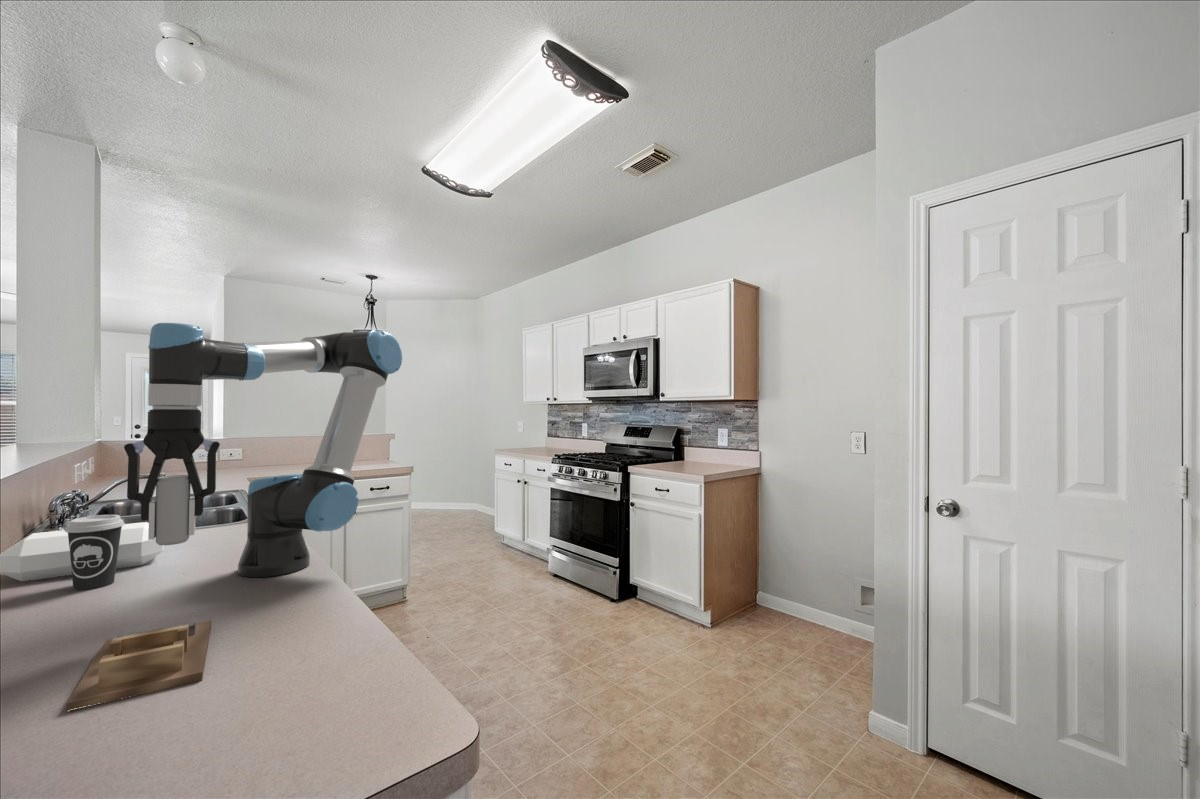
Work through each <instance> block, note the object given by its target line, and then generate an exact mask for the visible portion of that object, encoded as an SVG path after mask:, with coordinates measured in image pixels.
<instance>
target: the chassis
mask: <svg viewBox="0 0 1200 799" xmlns="http://www.w3.org/2000/svg"><path fill="white" fill-rule="evenodd" d="M211 630H212V620H207V621H201V622H195V621H194V622H188V623H184V624H179V625H173V626H168V627H162V628H156V629H151V630H146V631H145V630H144V631H140V632H134V633H130V634H124V635H117V636H116V637H114V638H110V639H105V641H104V642H103V644H102V646H101V647H100V649H99V650H98V652H97V654H96V655H95V657H94V658H93V660H92V661H91V663H90V665H89V667H88V669H87V670H86V672H85V673H84V675H83V676H82V678H81V680H80V681H79V683H78V685H77V686H76V688H75V690H74V691H73V693H72V695H71V696H70V698H68V701H67V702H66V703H67V704H66V711H67V710H70V709H74V708H79V707H83V706H88V705H94V704H98V703H104V702H108V703H111V702H110V701H112V702H115V701H114V700H117V701H119V700H118V699H121V698H125V697H129V696H134V695H138V696H142V695H145V694H150V693H154V691H155V692H158V691H163V690H167V689H171V688H176V687H180V686H184V685H188V684H192V683H193V684H194V683H196V682H201V681H203V678H204V671H205V667H206V666H205V665H206V661H207V660H206V659H207V654H208V648H209V642H210V636H211ZM141 694H142V695H141ZM134 697H135V696H134ZM129 698H130V697H129ZM125 699H126V698H125ZM121 700H122V699H121ZM104 704H105V703H104Z"/></svg>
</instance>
